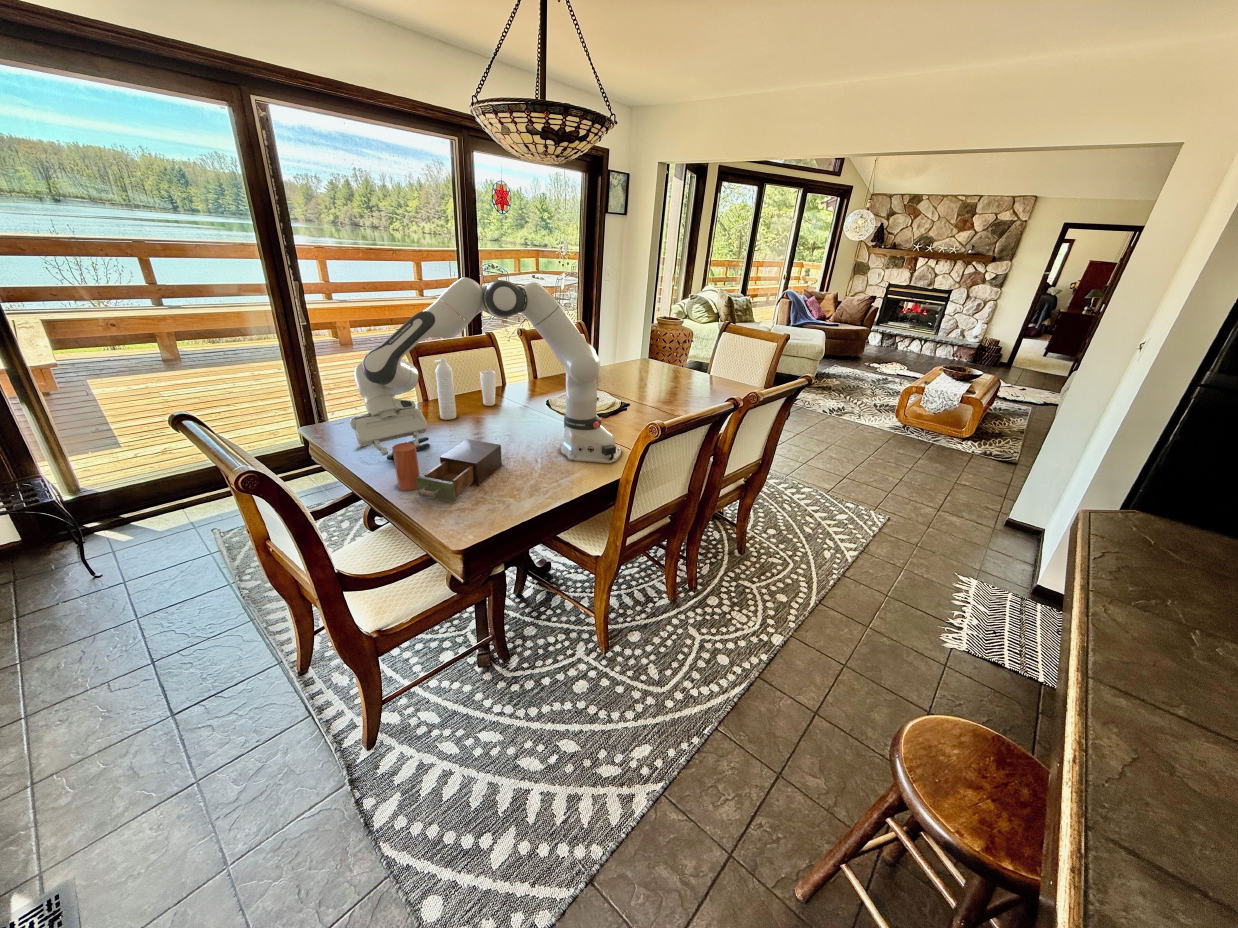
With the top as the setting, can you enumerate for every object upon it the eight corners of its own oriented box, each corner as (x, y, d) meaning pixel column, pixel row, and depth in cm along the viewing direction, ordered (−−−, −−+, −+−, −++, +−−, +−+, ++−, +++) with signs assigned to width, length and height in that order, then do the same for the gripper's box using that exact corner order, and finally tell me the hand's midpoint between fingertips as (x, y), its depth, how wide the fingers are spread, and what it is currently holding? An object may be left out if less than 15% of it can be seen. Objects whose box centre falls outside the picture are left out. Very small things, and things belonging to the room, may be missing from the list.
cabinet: (478, 485, 150) (476, 463, 147) (442, 479, 153) (439, 456, 150) (501, 465, 164) (500, 444, 161) (468, 459, 167) (466, 438, 163)
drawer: (445, 509, 135) (443, 490, 133) (409, 501, 137) (406, 483, 135) (479, 480, 152) (478, 463, 149) (446, 474, 154) (444, 457, 151)
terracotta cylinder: (425, 482, 150) (420, 444, 145) (412, 491, 144) (406, 452, 139) (407, 479, 151) (401, 441, 146) (393, 488, 146) (387, 449, 140)
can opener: (401, 466, 159) (399, 451, 156) (384, 462, 161) (382, 447, 158) (437, 447, 174) (435, 433, 171) (421, 444, 176) (420, 429, 174)
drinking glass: (485, 401, 223) (483, 369, 217) (499, 402, 222) (497, 371, 216) (479, 405, 217) (477, 373, 210) (493, 407, 216) (492, 374, 210)
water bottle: (444, 414, 205) (438, 355, 194) (459, 415, 204) (453, 357, 194) (435, 421, 197) (428, 360, 186) (450, 422, 197) (444, 362, 186)
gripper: (348, 412, 138) (366, 454, 136) (419, 400, 151) (436, 438, 149) (346, 422, 142) (363, 463, 141) (414, 409, 156) (431, 447, 154)
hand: (401, 450), depth 145 cm, fingers open, 8 cm apart
